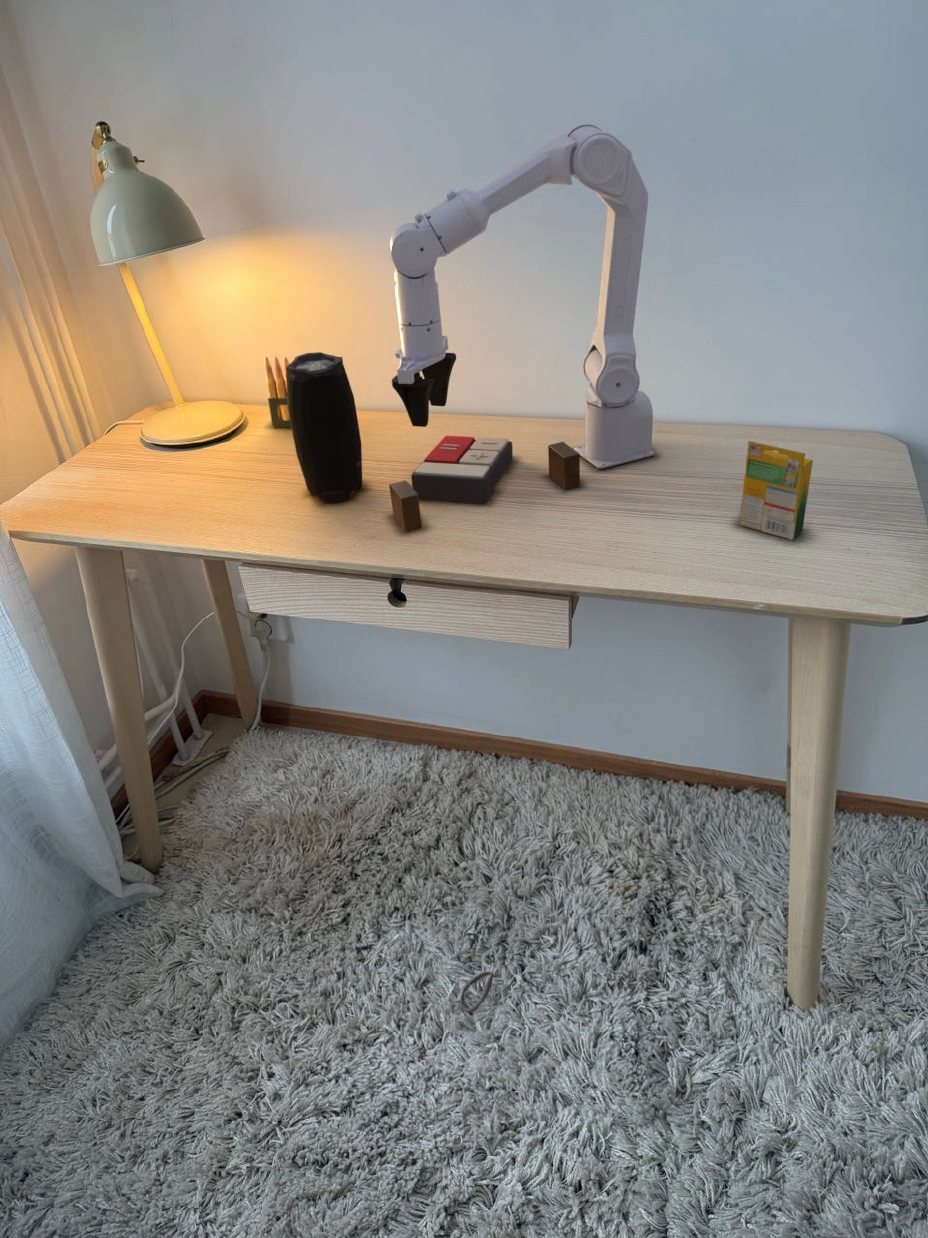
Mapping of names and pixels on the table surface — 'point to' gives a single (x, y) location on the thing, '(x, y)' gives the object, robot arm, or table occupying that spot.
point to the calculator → (462, 469)
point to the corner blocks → (560, 470)
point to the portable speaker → (324, 425)
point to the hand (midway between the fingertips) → (429, 415)
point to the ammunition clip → (277, 393)
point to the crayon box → (775, 490)
